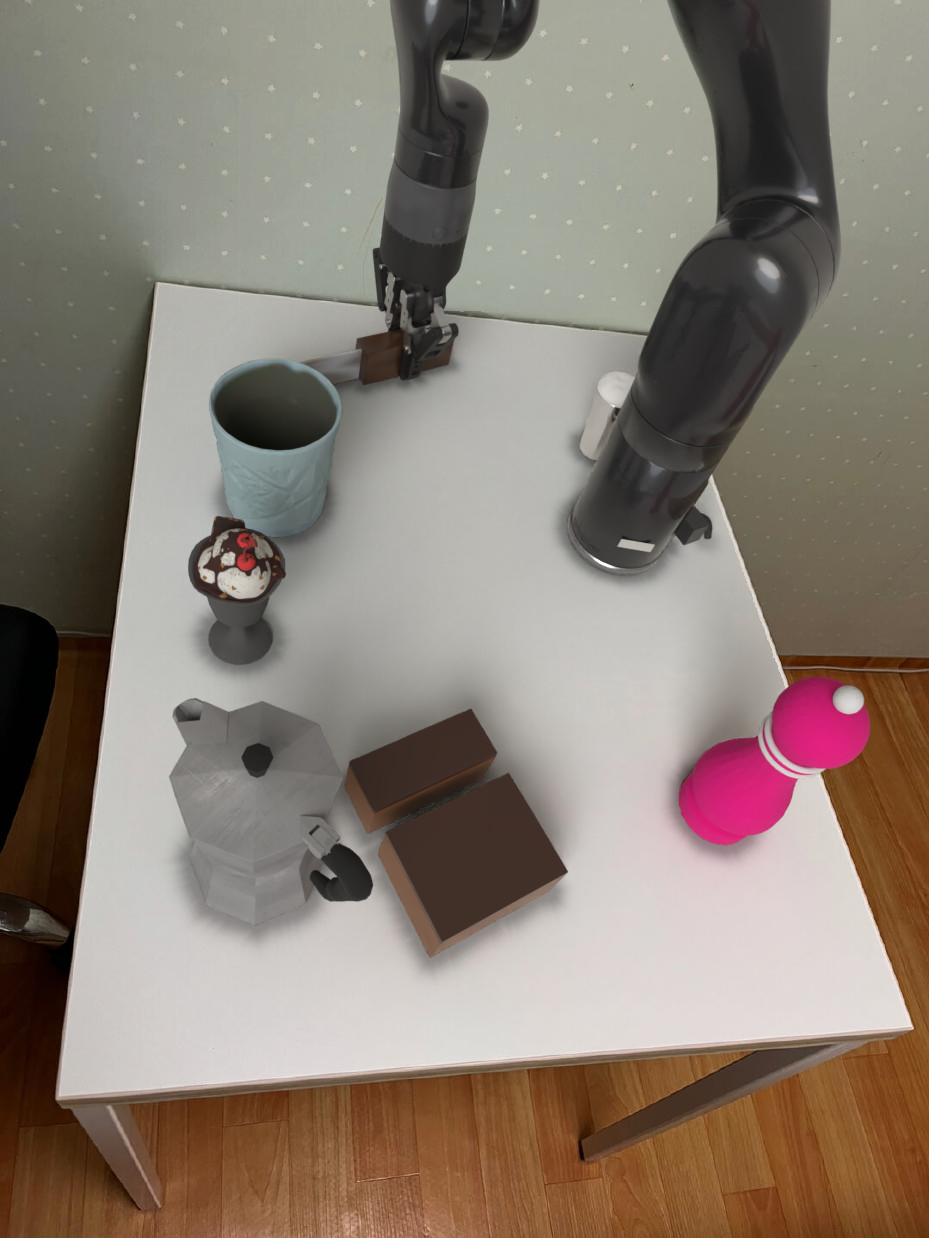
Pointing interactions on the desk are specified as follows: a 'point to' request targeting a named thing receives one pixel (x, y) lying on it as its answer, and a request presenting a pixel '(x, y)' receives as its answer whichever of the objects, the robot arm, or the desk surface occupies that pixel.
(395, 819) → the cake slice
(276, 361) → the blue ceramic cup
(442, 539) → the desk surface
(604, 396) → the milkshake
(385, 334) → the knife
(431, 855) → the cake
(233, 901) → the coffeepot
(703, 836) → the pepper mill
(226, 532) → the sundae
